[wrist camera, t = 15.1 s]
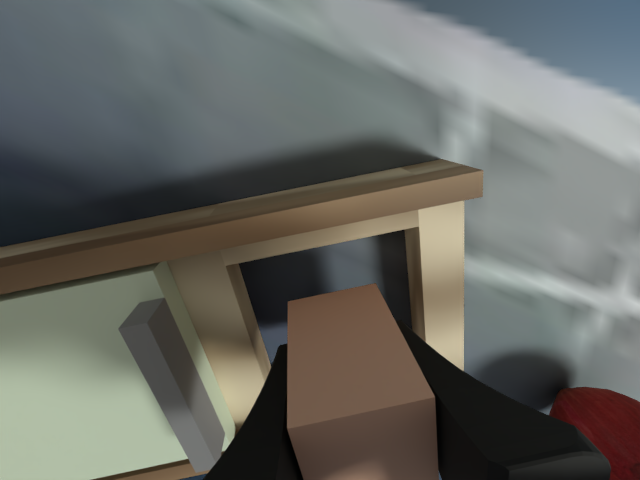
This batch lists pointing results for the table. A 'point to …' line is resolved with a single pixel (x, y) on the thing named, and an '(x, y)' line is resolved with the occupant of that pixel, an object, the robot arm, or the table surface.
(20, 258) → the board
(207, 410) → the lid
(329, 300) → the block
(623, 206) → the table surface
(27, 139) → the table surface
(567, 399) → the onion
